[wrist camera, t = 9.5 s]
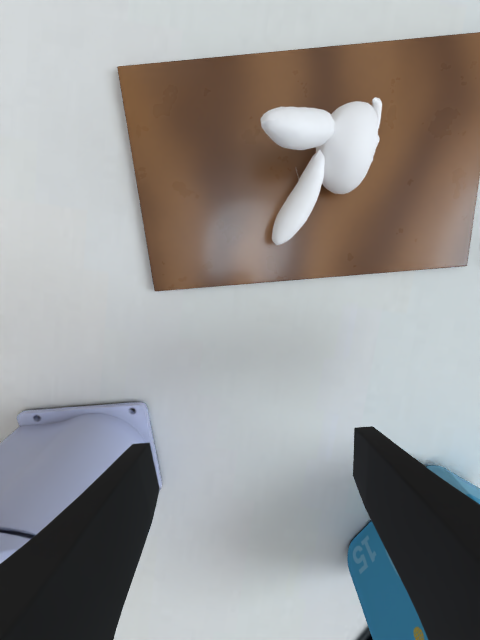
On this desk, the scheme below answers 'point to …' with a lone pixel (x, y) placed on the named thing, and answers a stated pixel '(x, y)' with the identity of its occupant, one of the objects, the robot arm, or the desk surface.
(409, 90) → the brown wooden board
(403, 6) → the desk surface
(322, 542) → the desk surface
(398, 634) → the data package
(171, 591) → the desk surface
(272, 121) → the rabbit figurine
